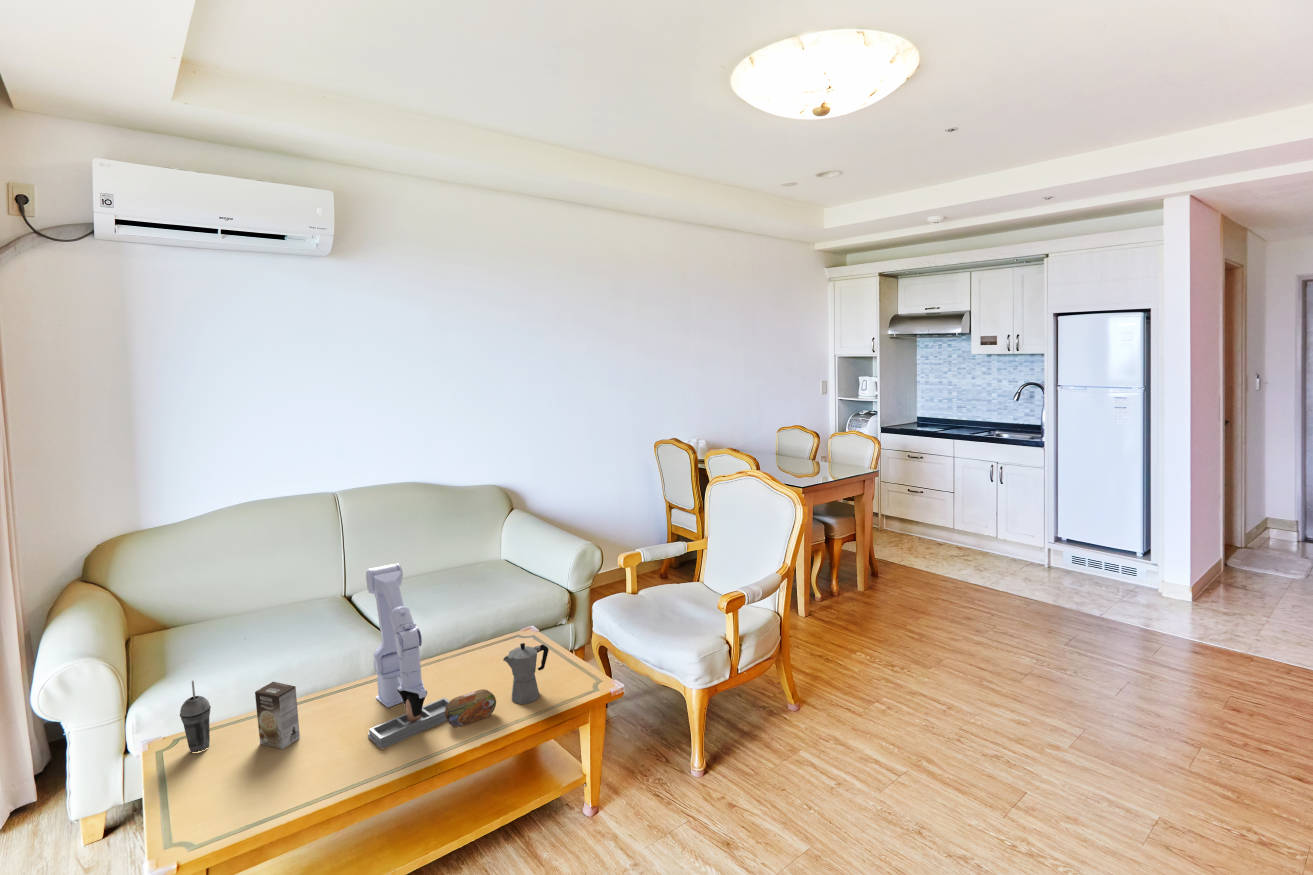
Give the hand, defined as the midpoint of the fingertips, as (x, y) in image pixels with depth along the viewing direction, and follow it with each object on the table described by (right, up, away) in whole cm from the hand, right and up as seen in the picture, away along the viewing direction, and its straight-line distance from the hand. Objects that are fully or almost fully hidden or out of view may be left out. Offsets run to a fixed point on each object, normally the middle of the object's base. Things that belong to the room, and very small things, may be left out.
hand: (413, 712), depth 198 cm
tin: (+16, -4, +3) cm, 17 cm away
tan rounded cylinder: (0, -2, 0) cm, 2 cm away
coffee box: (-37, -6, -5) cm, 37 cm away
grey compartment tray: (0, -4, +1) cm, 4 cm away
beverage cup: (-58, -7, -9) cm, 59 cm away
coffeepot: (+31, -2, +16) cm, 35 cm away
